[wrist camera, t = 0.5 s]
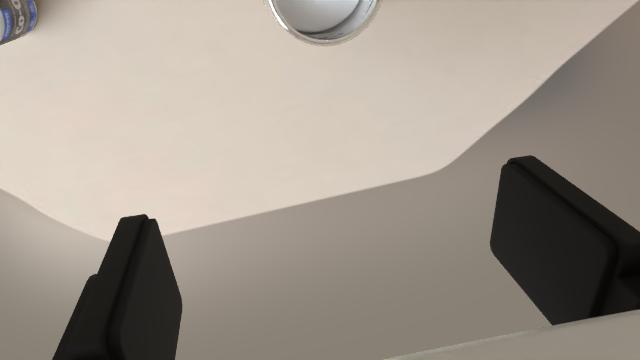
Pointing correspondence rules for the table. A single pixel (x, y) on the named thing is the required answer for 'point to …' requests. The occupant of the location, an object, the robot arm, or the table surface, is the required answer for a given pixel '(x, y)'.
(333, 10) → the beer glass
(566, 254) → the robot arm
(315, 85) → the table surface
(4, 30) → the pill bottle
